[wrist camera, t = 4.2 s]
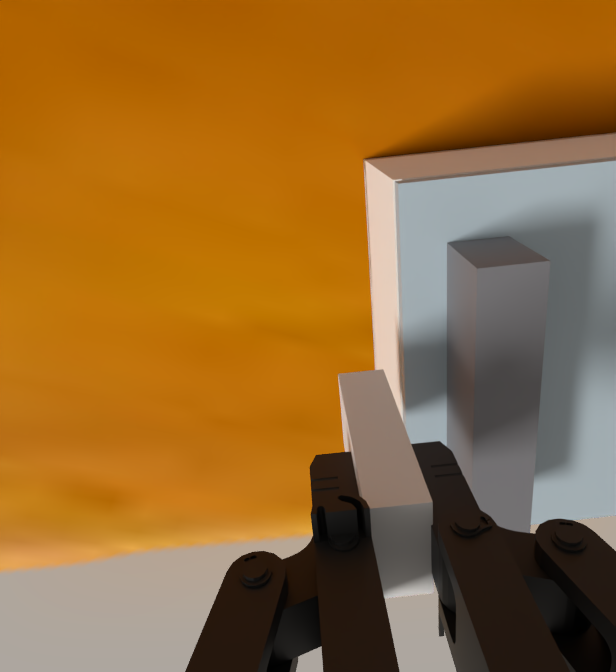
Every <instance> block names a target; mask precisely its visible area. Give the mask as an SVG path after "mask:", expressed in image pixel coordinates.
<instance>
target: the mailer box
mask: <svg viewBox="0 0 616 672" xmlns="http://www.w3.org/2000/svg"><path fill="white" fill-rule="evenodd" d="M609 158H616V132H615V133H606V134H596V135H587V136H577V137H568V138H559V139H549V140H540V141H530V142H521V143H511V144H502V145H492V146H483V147H474V148H464V149H455V150H445V151H436V152H426V153H417V154H408V155H398V156H389V157H379V158H370V159H363V160H364V178H365V196H366V214H367V232H368V250H369V268H370V286H371V304H372V322H373V340H374V358H375V370H382V369H383V370H384V372H385V375H386V378H387V380H388V383H389V386H390V388H391V391H392V394H393V396H394V399H395V402H396V405H397V407H398V410H399V413H400V415H401V418H402V421H403V406H402V378H401V349H400V321H399V293H398V264H397V236H396V207H395V181H401V180H411V179H420V178H430V177H439V176H448V175H458V174H467V173H477V172H486V171H496V170H505V169H514V168H524V167H533V166H543V165H552V164H562V163H571V162H580V161H590V160H599V159H609Z"/></svg>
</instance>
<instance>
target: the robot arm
mask: <svg viewBox="0 0 616 672" xmlns="http://www.w3.org/2000/svg"><path fill="white" fill-rule="evenodd" d="M338 379H339V391H340V403H341V415H342V427H343V439H344V447H345V452H341V453H331V454H322V455H316V456H315V458H314V460H313V462H312V464H311V465H310V478H311V491H312V511H311V520H312V529H313V537H312V539H311V541H310V543H309V544H308V545H307V546H306V547H305V548H304V549H303V550H302V551H300V552H299V553H297V554H295V555H293V556H290V557H288V558H285V559H283V560H282V559H281V558H279V557H278V556H277V555H275V554H274V553H269V552H265V551H259V552H251V553H248V554H246V555H243V556H241V557H240V558H238V559H237V560H236V561H235V562H233V563H232V565H231V566H230V568H229V569H228V571H227V573H226V575H225V577H224V580H223V582H222V584H221V587H220V589H219V592H218V594H217V596H216V599H215V601H214V604H213V606H212V609H211V611H210V613H209V616H208V618H207V621H206V623H205V626H204V628H203V630H202V633H201V635H200V638H199V640H198V642H197V645H196V647H195V649H194V652H193V654H192V657H191V659H190V661H189V664H188V666H187V669H186V671H185V672H296V668H297V663H298V656H300V655H302V654H304V653H307V652H309V651H311V650H313V649H316V648H318V647H320V646H322V658H323V672H399V667H398V662H397V657H396V653H395V648H394V643H393V638H392V633H391V629H390V623H389V618H388V614H387V609H386V604H385V599H384V598H393V597H403V596H412V595H422V594H432V593H434V583H433V581H434V582H435V585H436V588H437V591H438V594H439V636H444V631H445V634H446V637H447V641H448V644H449V647H450V650H451V654H452V657H453V661H454V664H455V667H456V671H457V672H616V551H615V550H614V549H612V547H610V546H609V545H608V544H607V543H606V542H605V541H604V540H603V539H601V538H600V536H598V535H597V534H596V533H595V532H594V531H592V530H591V529H590V528H588V527H587V526H585V525H583V524H581V523H578V522H575V521H573V520H567V519H560V518H559V519H552V520H547V521H545V522H543V523H542V524H540V525H539V527H538V529H537V530H536V534H533V533H526V532H518V531H513V530H508V529H505V528H502V527H500V526H497V524H496V523H495V521H494V520H493V519H492V518H491V516H489V515H488V514H486V513H484V512H483V511H481V510H480V508H479V506H478V504H477V502H476V500H475V498H474V496H473V494H472V492H471V490H470V487H469V485H468V483H467V481H466V479H465V477H464V475H463V474H462V471H461V469H460V467H459V465H458V463H457V460H456V458H455V456H454V454H453V452H452V451H451V450H450V449H449V448H448V447H446V446H445V445H444V444H443V443H441V442H440V441H435V442H425V443H415V444H411V442H410V440H409V437H408V434H407V431H406V429H405V426H404V423H403V421H402V418H401V415H400V413H399V410H398V407H397V405H396V402H395V399H394V396H393V394H392V391H391V388H390V386H389V383H388V380H387V378H386V375H385V372H384V370H383V369H382V370H372V371H362V372H353V373H343V374H338ZM433 578H434V579H433Z"/></svg>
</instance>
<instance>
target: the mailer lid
mask: <svg viewBox="0 0 616 672" xmlns="http://www.w3.org/2000/svg"><path fill="white" fill-rule="evenodd" d="M395 207H396V236H397V264H398V293H399V321H400V349H401V378H402V406H403V423H404V426H405V429H406V431H407V434H408V437H409V440H410V442H411V444H415V443H425V442H435V441H440V442H441V443H443V444H444V445H445V446H446V447H448V448H449V449H450V450H451V451H452V452H453V454H454V456H455V458H456V460H457V463H458V465H459V467H460V469H461V471H462V474H463V475H464V477H465V479H466V481H467V483H468V485H469V487H470V490H471V492H472V494H473V496H474V498H475V500H476V502H477V504H478V506H479V508H480V510H481V511H483V512H484V513H486V514H488V515H489V516H491V518H492V519H493V520H494V521H495V523H496V524H497V526H500V527H502V528H505V529H508V530H513V531H518V532H526V533H530V526H531V525H533V524H542V523H543V522H545V521H547V520H552V519H559V518H560V519H567V520H580V519H589V518H599V517H608V516H616V158H609V159H599V160H590V161H580V162H571V163H562V164H552V165H543V166H533V167H524V168H514V169H505V170H496V171H486V172H477V173H467V174H458V175H448V176H439V177H430V178H420V179H411V180H401V181H395Z"/></svg>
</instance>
